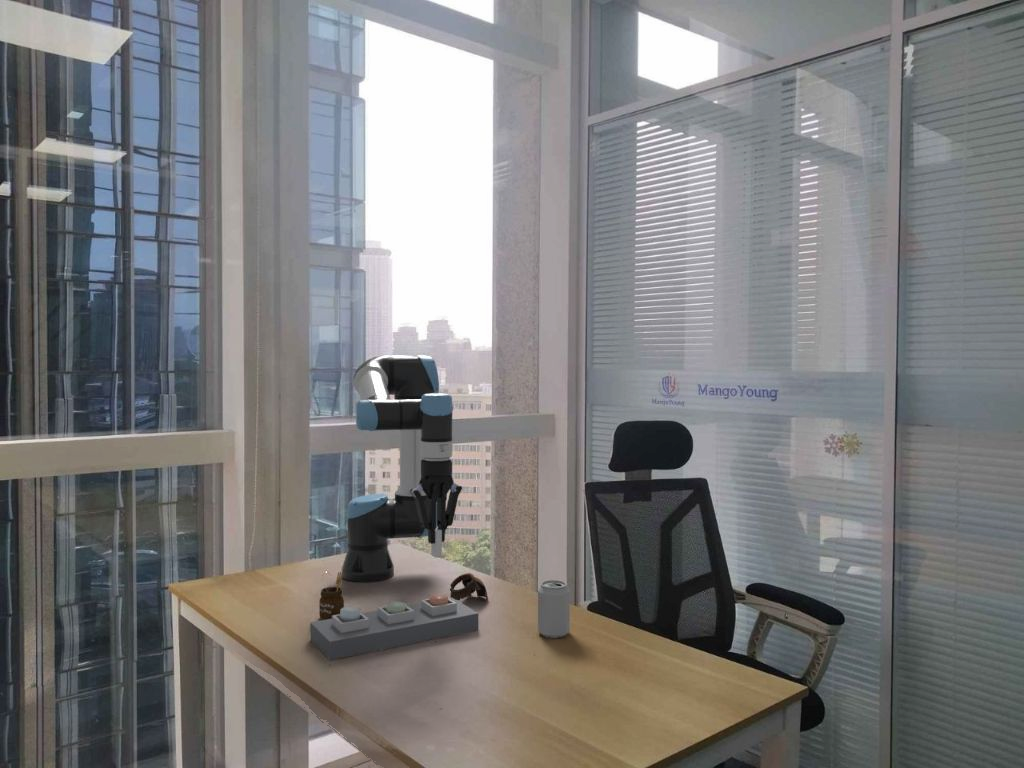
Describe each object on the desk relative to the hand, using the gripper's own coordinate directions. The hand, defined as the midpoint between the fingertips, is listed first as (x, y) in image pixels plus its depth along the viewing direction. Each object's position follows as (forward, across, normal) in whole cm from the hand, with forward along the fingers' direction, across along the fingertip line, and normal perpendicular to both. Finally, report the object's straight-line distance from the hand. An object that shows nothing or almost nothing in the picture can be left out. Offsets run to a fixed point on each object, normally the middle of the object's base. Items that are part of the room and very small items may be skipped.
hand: (436, 555), depth 189 cm
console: (+17, -11, -1) cm, 20 cm away
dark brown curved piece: (+17, +16, +13) cm, 27 cm away
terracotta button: (+12, 0, -1) cm, 12 cm away
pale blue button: (+11, -22, -1) cm, 25 cm away
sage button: (+12, -11, -1) cm, 16 cm away
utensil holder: (+17, -20, +18) cm, 32 cm away
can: (+17, +21, -20) cm, 33 cm away
